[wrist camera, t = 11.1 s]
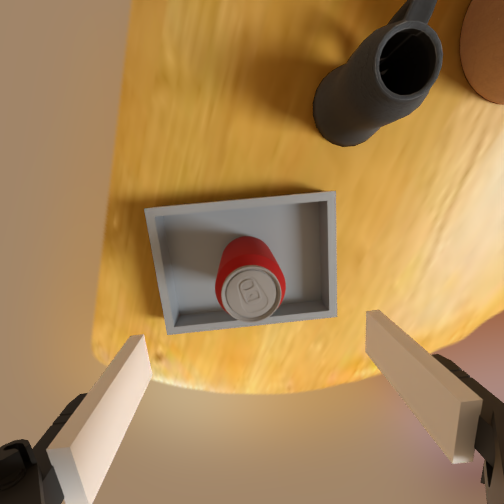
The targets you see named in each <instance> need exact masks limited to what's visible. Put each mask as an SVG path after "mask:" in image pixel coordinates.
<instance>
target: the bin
mask: <svg viewBox="0 0 504 504" xmlns="http://www.w3.org/2000/svg"><path fill="white" fill-rule="evenodd" d="M144 212H145V217H146V223H147V228H148V233H149V239H150V244H151V250H152V255H153V260H154V266H155V271H156V276H157V282H158V287H159V293H160V298H161V303H162V309H163V314H164V319H165V325H166V330H167V335H172V334H181V333H191V332H200V331H209V330H219V329H228V328H237V327H247V326H256V325H265V324H275V323H284V322H293V321H303V320H312V319H321V318H331V317H337V261H336V191H320V192H309V193H298V194H287V195H276V196H265V197H254V198H244V199H233V200H222V201H211V202H200V203H189V204H178V205H167V206H156V207H150V208H145V209H144ZM243 236H251V237H255V238H258V239H260V240H262V241H263V242H264V243H265V244H266V245H267V246H268V247H269V249H270V251H271V252H272V254H273V256H274V257H275V259H276V261H277V263H278V265H279V267H280V269H281V271H282V273H283V275H284V278H285V282H286V291H285V295H284V298H283V301H282V302H281V304H280V306H279V307H278V308H277V309H276V311H275V312H274V313H273V314H272V315H271V316H270V317H268V318H267V319H265V320H262V321H259V322H254V323H247V322H242V321H239V320H237V319H235V318H233V317H232V316H231V315H229V314H228V313H227V312H226V311H225V310H224V309H223V308H222V307H221V306H220V304H219V302H218V300H217V298H216V294H215V282H216V277H217V273H218V268H219V264H220V261H221V257H222V254H223V251H224V249H225V248H226V246H227V245H228V244H229V243H230V242H231V241H233V240H234V239H236V238H239V237H243Z"/></svg>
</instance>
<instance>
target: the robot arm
mask: <svg viewBox="0 0 504 504" xmlns="http://www.w3.org/2000/svg"><path fill="white" fill-rule="evenodd" d="M365 352H366V353H367V354H368V356H369V357H370V358H371V360H372V361H373V362H374V363H375V365H376V366H377V367H378V369H379V370H380V371H381V372H382V374H383V375H384V376H385V378H386V379H387V380H388V381H389V383H390V384H391V385H392V387H393V388H394V389H395V390H396V392H397V393H398V394H399V396H400V397H401V398H402V400H403V401H404V402H405V403H406V405H407V406H408V407H409V409H410V410H411V411H412V412H413V414H414V415H415V416H416V418H417V419H418V420H419V421H420V423H421V424H422V425H423V427H424V428H425V429H426V430H427V432H428V433H429V434H430V436H431V437H432V438H433V440H434V441H435V442H436V443H437V445H438V446H439V447H440V449H441V450H442V451H443V452H444V454H445V455H446V456H447V458H448V459H449V460H450V461H451V463H452V464H456V463H465V462H472V461H473V457H474V451H475V449H476V450H477V451H478V452H479V453H480V454H481V455H482V456H483V458H484V459H485V461H484V466H483V472H482V478H481V483H483V484H485V487H486V499H487V504H504V403H503V402H501V401H500V400H499V399H498V398H497V397H495V396H494V395H493V394H492V393H490V392H489V391H488V390H487V389H485V388H484V387H483V386H482V385H480V384H479V383H478V382H477V381H476V380H474V379H473V378H470V376H469V375H468V374H467V373H466V372H464V371H462V370H461V368H459V367H458V366H457V365H456V364H455V363H453V362H452V361H451V360H449V359H447V358H445V357H443V356H441V355H439V354H434V355H431V354H429V353H428V352H427V351H426V350H425V349H424V348H423V347H421V346H420V345H419V344H418V343H417V342H416V341H414V340H413V339H412V338H411V337H410V336H409V335H408V334H406V333H405V332H404V331H403V330H402V329H401V328H399V327H398V326H397V325H396V324H395V323H394V322H392V321H391V320H390V319H389V318H388V317H387V316H386V315H384V314H383V313H382V312H381V311H380V310H373V311H366V349H365ZM151 377H152V370H151V366H150V361H149V356H148V352H147V347H146V342H145V338H144V334H143V335H134V336H130V337H129V339H128V340H127V341H126V343H125V344H124V345H123V347H122V348H121V349H120V351H119V352H118V353H117V355H116V356H115V357H114V359H113V360H112V361H111V363H110V364H109V366H108V367H107V368H106V370H105V371H104V372H103V374H102V375H101V376H100V378H99V379H98V381H97V382H96V383H95V384H94V386H93V387H92V388H91V390H90V391H89V392H88V393H85V394H80V395H78V396H77V397H76V398H75V399H74V400H72V401H71V402H70V403H69V404H68V405H67V406H66V408H65V409H64V410H63V411H62V413H61V414H60V416H59V417H58V418H57V419H56V420H55V421H54V422H53V425H52V426H50V428H49V429H48V430H47V431H46V433H45V434H44V435H43V436H42V438H41V439H40V440H39V441H38V443H37V444H36V445H35V446H34V448H33V449H32V448H31V445H30V443H29V441H28V440H24V439H21V440H16V441H12V442H10V443H8V444H5V445H3V446H2V447H0V504H61V503H62V501H63V499H64V500H65V503H66V504H92V503H93V501H94V499H95V497H96V495H97V492H98V490H99V488H100V486H101V484H102V482H103V480H104V477H105V475H106V473H107V471H108V469H109V466H110V464H111V462H112V460H113V458H114V456H115V454H116V452H117V450H118V447H119V445H120V443H121V441H122V439H123V437H124V435H125V433H126V430H127V428H128V426H129V424H130V422H131V419H132V418H133V415H134V413H135V411H136V409H137V407H138V405H139V402H140V400H141V398H142V396H143V394H144V392H145V390H146V388H147V385H148V383H149V381H150V379H151Z"/></svg>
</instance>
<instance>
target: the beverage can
mask: <svg viewBox="0 0 504 504" xmlns="http://www.w3.org/2000/svg"><path fill="white" fill-rule="evenodd" d="M285 291H286V282H285V278H284V275H283V273H282V271H281V269H280V267H279V265H278V263H277V261H276V259H275V257H274V256H273V254H272V252H271V251H270V249H269V247H268V246H267V245H266V244H265V243H264V242H263V241H262V240H260V239H258V238H255V237H251V236H243V237H239V238H236V239H234V240H233V241H231V242H230V243H229V244H228V245H227V246H226V248H225V249H224V251H223V254H222V257H221V261H220V264H219V268H218V273H217V277H216V282H215V294H216V298H217V300H218V302H219V304H220V306H221V307H222V308H223V309H224V310H225V311H226V312H227V313H228V314H229V315H231V316H232V317H233V318H235V319H237V320H239V321H242V322H247V323H254V322H259V321H262V320H265V319H267V318H268V317H270V316H271V315H272V314H273V313H274V312H275V311H276V309H277V308H278V307H279V306H280V304H281V302H282V301H283V298H284V295H285Z"/></svg>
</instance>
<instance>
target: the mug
mask: <svg viewBox="0 0 504 504" xmlns="http://www.w3.org/2000/svg"><path fill="white" fill-rule="evenodd" d="M436 2H437V0H407V1H406V3H405V4H404V5H403V6H402V7H401V8H400V9H399V11H398V12H397V13H396V14H395V15H394V16H393V18H392V19H391V20H390V22H389V23H388V25H386V26H384V27H381V28H379V29H377V30H375V31H374V32H373V33H372V34H371V35H369V36H368V37H367V38H366V39H365V40H364V41H363V42H362V43H361V45H360V46H359V47H358V48H357V49H356V51H355V52H354V53H353V54H352V56H351V57H350V59H349V60H348V62H347V64H344V65H342V66H340V67H338V68H336V69H334V70H333V71H332V72H330V73H329V74H328V75H327V76H326V77H325V78H324V79H323V80H322V82H321V83H320V85H319V87H318V88H317V90H316V93H315V97H314V101H313V117H314V120H315V124H316V127H317V129H318V130H319V132H320V133H321V134H322V136H323V137H324V138H325V139H327V140H328V141H329V142H331V143H332V144H335V145H339V146H342V147H348V146H355V145H358V144H360V143H363V142H365V141H366V140H367V139H368V138H370V137H371V136H372V135H373V134H374V133H375V132H376V131H377V130H378V129H379V128H380V127H382V126H384V125H387V124H389V123H392V122H394V121H396V120H398V119H401V118H403V117H405V116H407V115H409V114H410V113H412V112H413V111H414V110H415V109H416V108H418V107H419V106H420V105H421V103H422V102H423V100H424V99H425V98H426V96H427V95H428V93H429V90H430V88H431V87H432V85H433V84H434V82H435V81H436V79H437V78H438V75H439V72H440V70H441V67H442V59H443V51H442V45H441V41H440V39H439V37H438V35H437V34H436V32H435V31H434V30H433V29H432V28H431V27H430V26H429V25H427V24H428V21H429V19H430V17H431V15H432V13H433V10H434V8H435V5H436Z"/></svg>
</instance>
